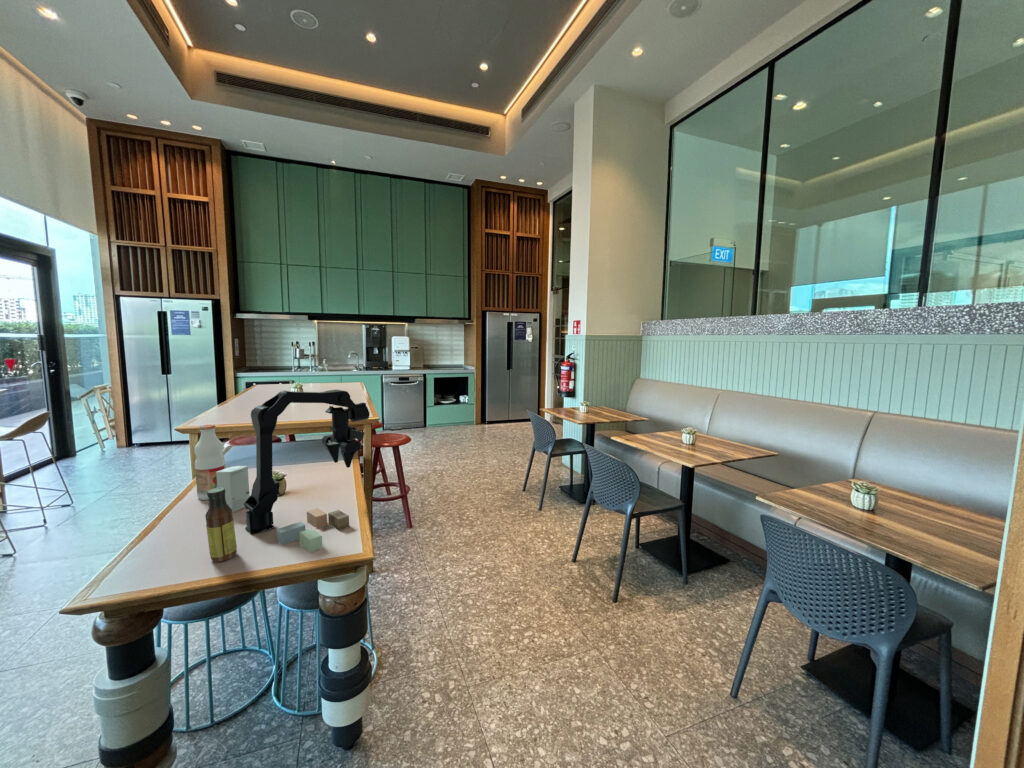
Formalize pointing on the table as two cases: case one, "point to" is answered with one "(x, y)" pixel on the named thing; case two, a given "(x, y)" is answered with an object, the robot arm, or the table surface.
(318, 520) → the tan brick
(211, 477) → the fruit juice
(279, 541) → the slate brick
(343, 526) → the walnut brick
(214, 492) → the sauce bottle
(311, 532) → the sage brick
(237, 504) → the skincare box
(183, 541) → the table surface
